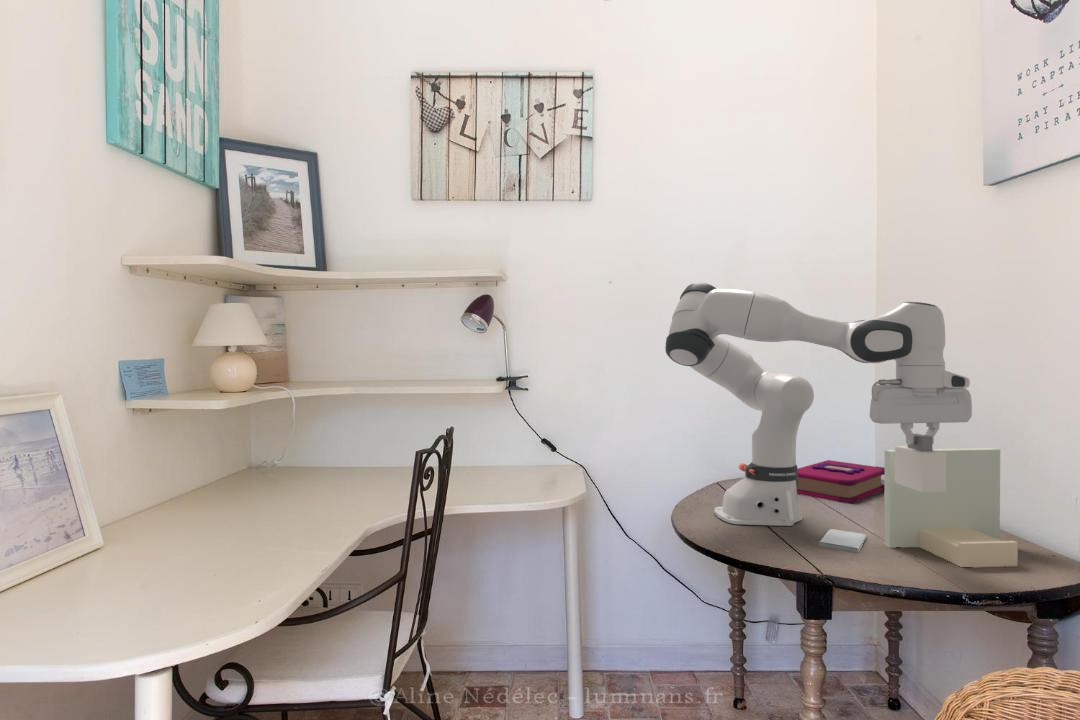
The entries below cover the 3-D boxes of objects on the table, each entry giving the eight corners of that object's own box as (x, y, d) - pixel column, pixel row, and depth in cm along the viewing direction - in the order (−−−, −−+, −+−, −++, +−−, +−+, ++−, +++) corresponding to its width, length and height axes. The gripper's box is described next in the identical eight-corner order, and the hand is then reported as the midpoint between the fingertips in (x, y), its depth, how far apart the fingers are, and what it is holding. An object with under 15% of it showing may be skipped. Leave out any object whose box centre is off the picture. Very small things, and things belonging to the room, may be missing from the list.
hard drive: (858, 548, 136) (866, 533, 146) (818, 541, 140) (829, 527, 151) (858, 555, 136) (866, 540, 146) (818, 548, 140) (828, 534, 151)
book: (782, 492, 193) (782, 468, 193) (823, 479, 211) (824, 457, 211) (851, 505, 177) (851, 479, 177) (889, 490, 195) (889, 466, 195)
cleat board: (928, 568, 126) (929, 462, 125) (884, 545, 141) (884, 449, 140) (1049, 565, 127) (1050, 460, 127) (992, 542, 142) (993, 447, 141)
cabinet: (922, 492, 125) (922, 438, 125) (894, 482, 134) (895, 432, 134) (946, 491, 125) (946, 438, 125) (917, 482, 134) (917, 432, 134)
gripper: (881, 380, 125) (880, 447, 126) (977, 379, 126) (977, 445, 127) (863, 378, 132) (863, 442, 132) (955, 377, 132) (955, 440, 133)
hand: (919, 444), depth 129 cm, fingers closed on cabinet
